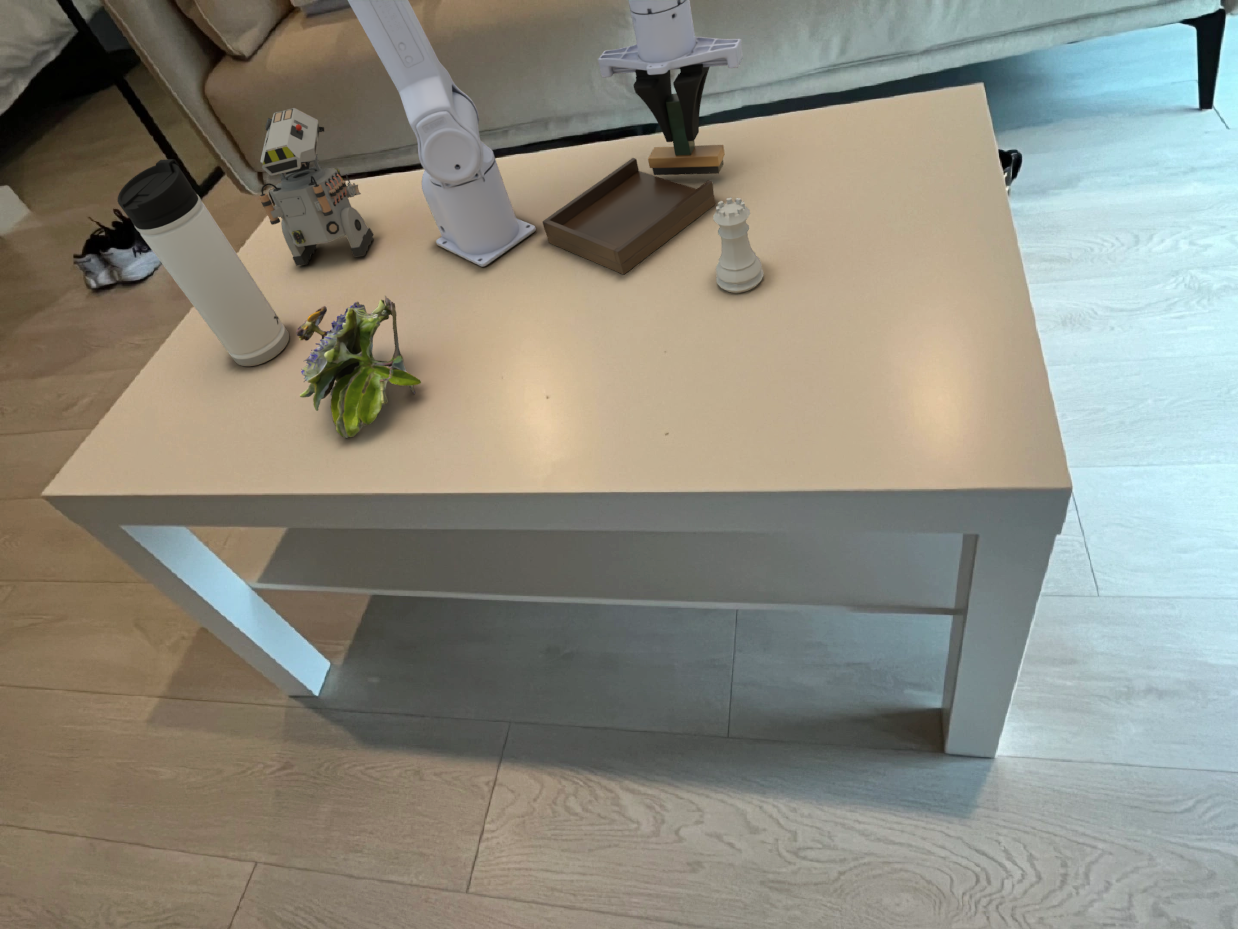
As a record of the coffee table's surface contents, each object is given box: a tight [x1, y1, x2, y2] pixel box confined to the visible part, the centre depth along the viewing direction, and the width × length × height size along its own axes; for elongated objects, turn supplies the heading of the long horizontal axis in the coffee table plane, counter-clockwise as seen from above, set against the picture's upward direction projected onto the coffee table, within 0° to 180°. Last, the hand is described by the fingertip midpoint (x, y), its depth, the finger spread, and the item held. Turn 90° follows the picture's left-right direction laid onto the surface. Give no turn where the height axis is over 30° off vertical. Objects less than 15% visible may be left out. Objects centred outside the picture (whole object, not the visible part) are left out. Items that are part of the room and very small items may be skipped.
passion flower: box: [295, 295, 422, 439], centre depth 75 cm, size 11×11×12 cm
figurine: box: [258, 107, 375, 267], centre depth 94 cm, size 9×12×15 cm
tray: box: [541, 157, 716, 275], centre depth 87 cm, size 12×14×3 cm
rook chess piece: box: [712, 196, 764, 294], centre depth 74 cm, size 4×4×8 cm
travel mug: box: [117, 158, 290, 367], centre depth 80 cm, size 6×7×20 cm
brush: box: [647, 93, 726, 176], centre depth 87 cm, size 8×2×8 cm, turn 70°
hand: (682, 136), depth 87 cm, fingers closed on brush, 2 cm apart
